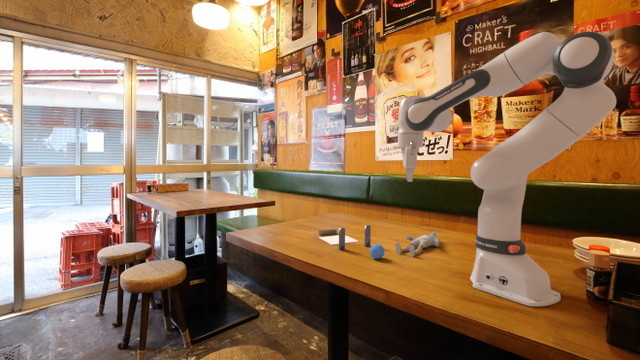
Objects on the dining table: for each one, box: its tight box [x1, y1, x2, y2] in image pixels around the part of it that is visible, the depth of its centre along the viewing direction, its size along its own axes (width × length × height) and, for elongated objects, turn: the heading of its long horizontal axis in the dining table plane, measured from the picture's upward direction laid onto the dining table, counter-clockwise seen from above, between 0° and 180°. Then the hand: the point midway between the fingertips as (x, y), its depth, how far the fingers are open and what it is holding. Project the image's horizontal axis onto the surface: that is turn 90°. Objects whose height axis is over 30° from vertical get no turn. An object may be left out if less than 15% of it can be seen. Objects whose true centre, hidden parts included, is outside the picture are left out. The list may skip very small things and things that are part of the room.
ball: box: [369, 243, 385, 260], centre depth 116 cm, size 6×6×6 cm
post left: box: [338, 227, 346, 251], centre depth 127 cm, size 3×3×9 cm
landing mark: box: [318, 234, 360, 246], centre depth 144 cm, size 14×14×1 cm
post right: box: [363, 224, 372, 248], centre depth 133 cm, size 3×3×9 cm
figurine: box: [394, 231, 441, 258], centre depth 130 cm, size 13×6×30 cm
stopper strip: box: [318, 228, 338, 237], centre depth 154 cm, size 2×9×2 cm, turn 115°
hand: (409, 180), depth 112 cm, fingers open, 8 cm apart
